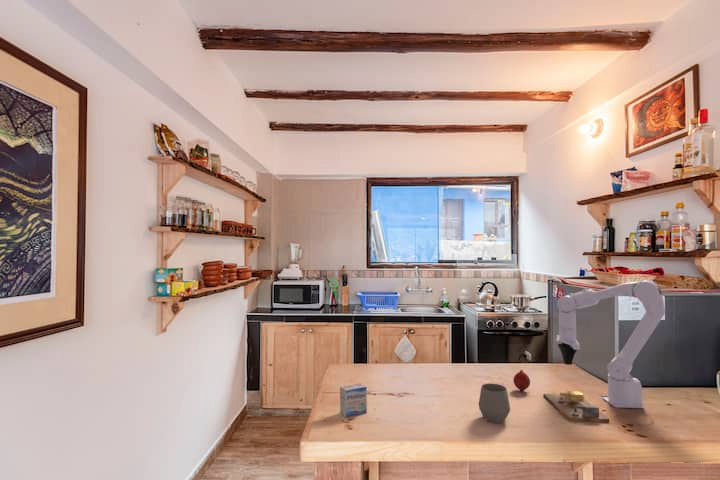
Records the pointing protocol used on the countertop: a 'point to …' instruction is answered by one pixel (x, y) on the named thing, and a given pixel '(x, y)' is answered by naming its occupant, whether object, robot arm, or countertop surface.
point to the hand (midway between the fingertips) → (567, 364)
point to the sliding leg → (573, 396)
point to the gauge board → (576, 409)
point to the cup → (494, 402)
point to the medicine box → (353, 400)
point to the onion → (521, 380)
